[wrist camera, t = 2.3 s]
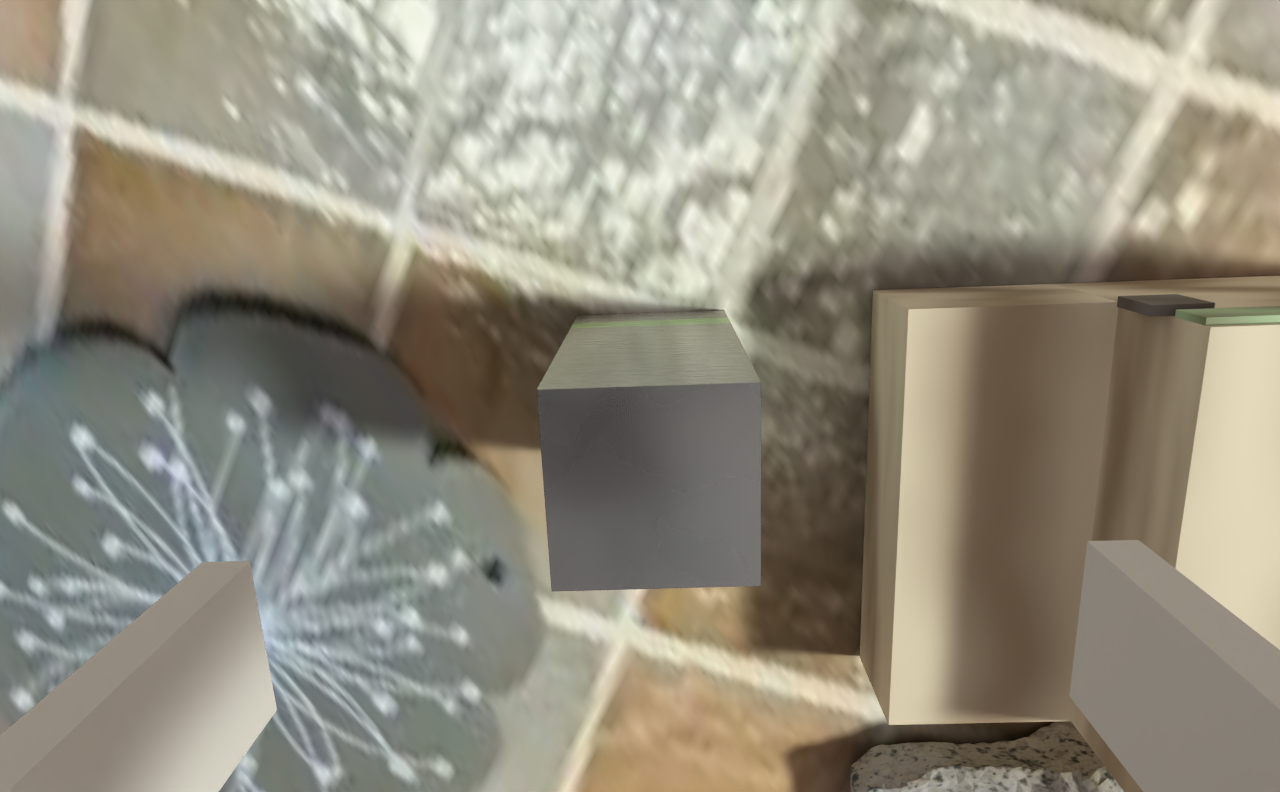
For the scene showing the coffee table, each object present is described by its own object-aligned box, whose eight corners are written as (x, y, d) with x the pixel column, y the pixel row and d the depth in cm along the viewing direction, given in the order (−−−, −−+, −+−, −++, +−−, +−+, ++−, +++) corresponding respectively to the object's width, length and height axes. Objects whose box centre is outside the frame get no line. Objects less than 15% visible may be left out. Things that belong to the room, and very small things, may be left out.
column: (585, 453, 29) (551, 591, 20) (577, 315, 28) (536, 389, 18) (725, 449, 29) (761, 586, 19) (724, 310, 28) (760, 382, 18)
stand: (859, 656, 31) (927, 816, 23) (873, 281, 27) (958, 323, 20) (1287, 646, 31) (1500, 805, 23) (1361, 263, 27) (1645, 300, 19)
